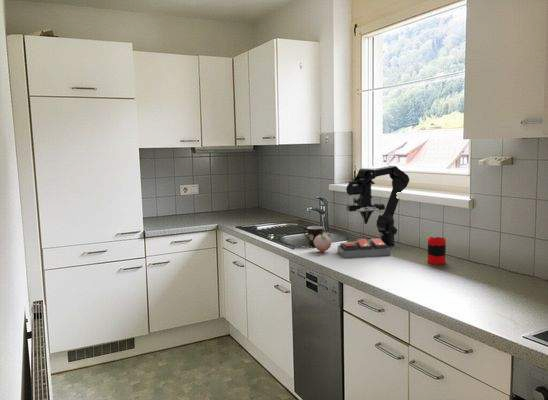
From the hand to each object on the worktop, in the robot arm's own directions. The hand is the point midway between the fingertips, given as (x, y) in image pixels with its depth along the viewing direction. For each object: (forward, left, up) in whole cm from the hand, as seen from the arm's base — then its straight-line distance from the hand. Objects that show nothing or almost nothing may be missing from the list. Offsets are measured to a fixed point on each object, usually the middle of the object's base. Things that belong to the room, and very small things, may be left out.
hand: (365, 223), depth 239 cm
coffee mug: (+24, -14, -13) cm, 31 cm away
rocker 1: (+12, +10, -8) cm, 18 cm away
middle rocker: (+4, +10, -8) cm, 14 cm away
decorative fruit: (+23, +2, -13) cm, 27 cm away
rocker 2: (-3, +10, -8) cm, 13 cm away
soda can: (-22, +33, -13) cm, 42 cm away
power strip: (+4, +10, -13) cm, 17 cm away
